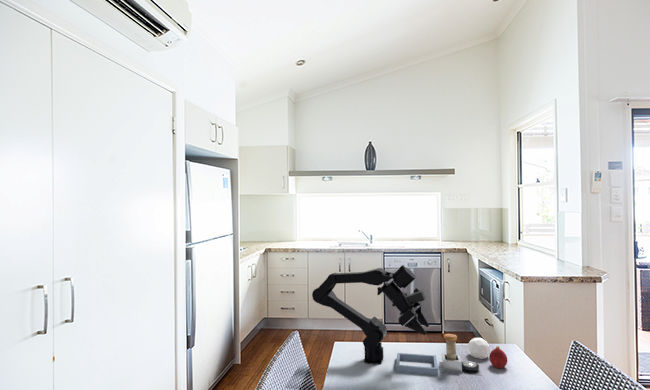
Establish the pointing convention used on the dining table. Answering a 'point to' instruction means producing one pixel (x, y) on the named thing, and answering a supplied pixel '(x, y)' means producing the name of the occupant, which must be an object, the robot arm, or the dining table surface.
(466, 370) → the grey piece
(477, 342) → the ball
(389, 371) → the dining table surface
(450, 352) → the orange-brown round-topped piece
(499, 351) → the onion
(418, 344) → the dining table surface
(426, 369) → the tray
